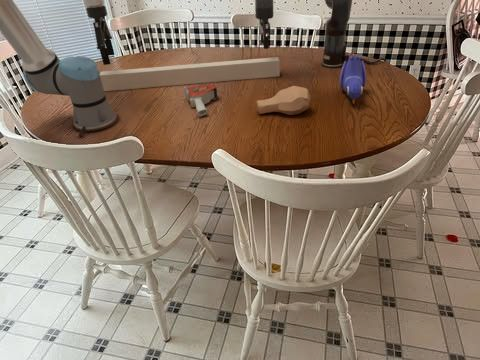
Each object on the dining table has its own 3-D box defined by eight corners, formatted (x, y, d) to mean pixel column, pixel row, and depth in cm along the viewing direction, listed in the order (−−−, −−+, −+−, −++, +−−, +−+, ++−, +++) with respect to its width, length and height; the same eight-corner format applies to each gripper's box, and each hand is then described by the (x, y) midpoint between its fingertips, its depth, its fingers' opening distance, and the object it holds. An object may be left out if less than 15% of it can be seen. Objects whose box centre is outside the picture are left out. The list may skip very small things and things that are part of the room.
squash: (314, 116, 128) (313, 95, 122) (259, 125, 130) (256, 105, 124) (308, 99, 136) (307, 78, 129) (257, 108, 138) (253, 88, 131)
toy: (338, 94, 152) (340, 108, 129) (340, 53, 145) (343, 60, 123) (362, 94, 149) (368, 108, 127) (365, 52, 143) (373, 58, 120)
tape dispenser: (202, 122, 132) (232, 99, 144) (201, 109, 128) (231, 87, 141) (166, 111, 139) (197, 89, 152) (164, 98, 136) (196, 78, 148)
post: (103, 91, 159) (98, 75, 154) (105, 87, 163) (101, 71, 158) (279, 76, 162) (280, 60, 158) (277, 72, 166) (277, 56, 162)
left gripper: (99, 11, 132) (114, 67, 145) (109, 0, 152) (121, 50, 165) (79, 12, 131) (95, 69, 144) (91, 1, 151) (104, 52, 164)
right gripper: (276, 8, 141) (276, 49, 150) (270, 1, 152) (270, 40, 162) (257, 9, 141) (258, 51, 150) (253, 3, 152) (254, 42, 162)
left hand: (109, 59), depth 154 cm, fingers open, 13 cm apart
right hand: (264, 45), depth 156 cm, fingers open, 8 cm apart
